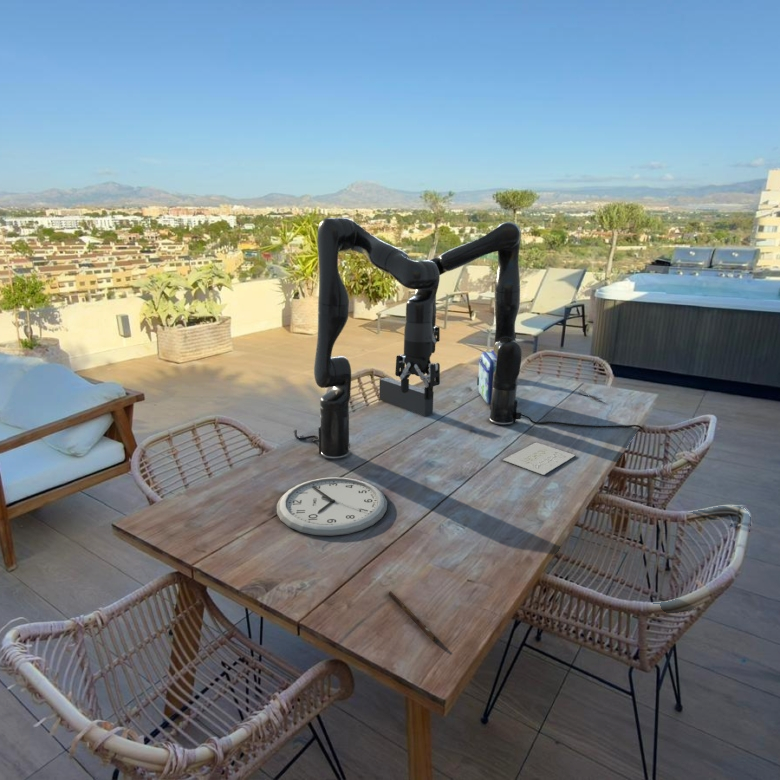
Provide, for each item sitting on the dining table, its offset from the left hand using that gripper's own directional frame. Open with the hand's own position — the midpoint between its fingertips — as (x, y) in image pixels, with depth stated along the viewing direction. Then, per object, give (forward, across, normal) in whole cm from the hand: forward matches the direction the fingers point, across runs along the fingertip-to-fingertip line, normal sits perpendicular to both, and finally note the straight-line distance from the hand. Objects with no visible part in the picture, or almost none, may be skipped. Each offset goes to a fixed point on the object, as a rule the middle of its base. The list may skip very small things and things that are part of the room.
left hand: (416, 395), depth 144 cm
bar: (+29, -53, +51) cm, 79 cm away
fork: (+29, -5, +124) cm, 127 cm away
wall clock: (+29, -9, -23) cm, 38 cm away
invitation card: (+29, +14, +47) cm, 57 cm away
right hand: (+4, -42, +51) cm, 66 cm away
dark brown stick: (+29, +35, -38) cm, 60 cm away
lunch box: (+29, -34, +87) cm, 98 cm away
